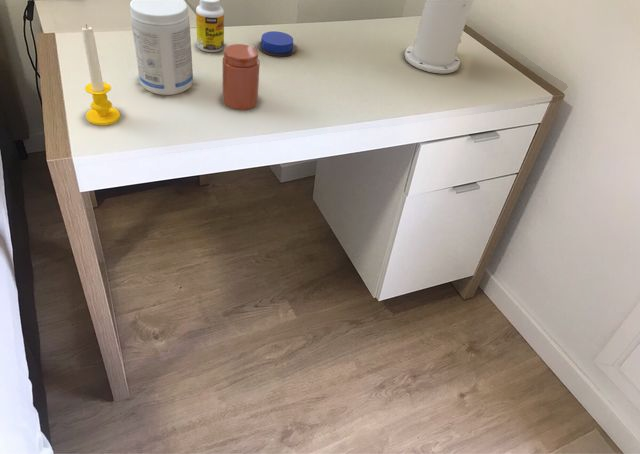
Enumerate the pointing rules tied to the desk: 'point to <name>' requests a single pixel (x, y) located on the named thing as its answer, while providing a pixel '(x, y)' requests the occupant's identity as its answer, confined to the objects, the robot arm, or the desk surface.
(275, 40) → the jar lid
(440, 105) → the desk surface
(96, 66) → the candle
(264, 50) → the coaster
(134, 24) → the supplement tub
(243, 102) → the jar
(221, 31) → the supplement bottle
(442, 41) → the robot arm
